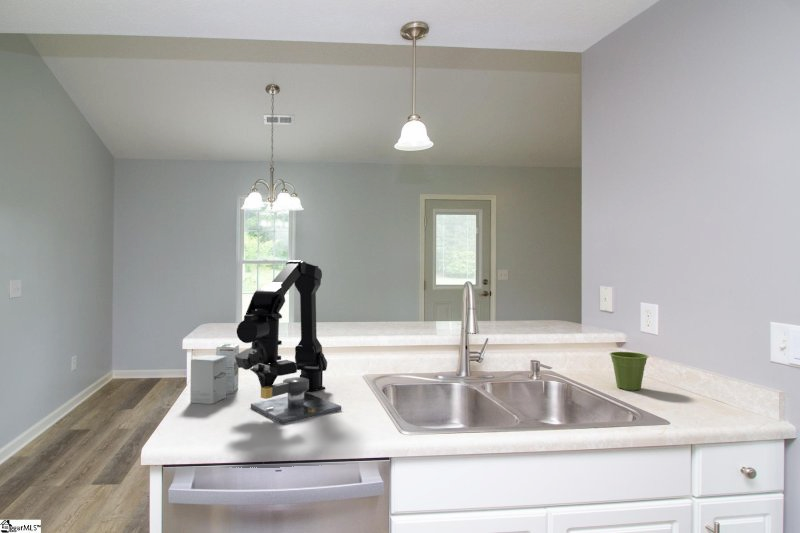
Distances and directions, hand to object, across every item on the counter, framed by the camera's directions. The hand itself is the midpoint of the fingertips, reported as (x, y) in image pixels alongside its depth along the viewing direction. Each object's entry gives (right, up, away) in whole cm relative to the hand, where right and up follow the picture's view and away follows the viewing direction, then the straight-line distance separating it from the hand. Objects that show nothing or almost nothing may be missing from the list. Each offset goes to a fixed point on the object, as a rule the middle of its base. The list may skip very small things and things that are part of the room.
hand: (265, 395), depth 131 cm
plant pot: (+112, -6, +32) cm, 116 cm away
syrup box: (-18, -5, +23) cm, 30 cm away
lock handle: (+5, 0, +2) cm, 5 cm away
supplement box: (-20, -5, +13) cm, 25 cm away
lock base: (+7, -5, +5) cm, 10 cm away
